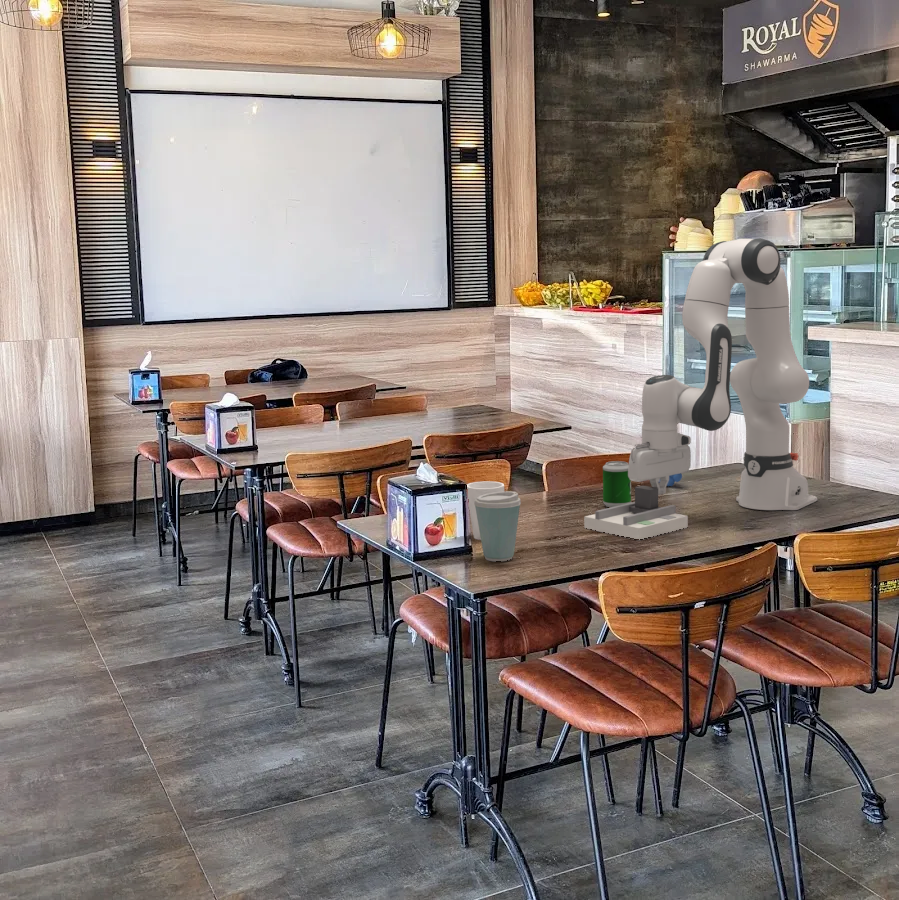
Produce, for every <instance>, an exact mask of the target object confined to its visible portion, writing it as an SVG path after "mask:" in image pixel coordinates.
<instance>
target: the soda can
mask: <svg viewBox="0 0 899 900" xmlns="http://www.w3.org/2000/svg"><path fill="white" fill-rule="evenodd" d="M628 466H629V462H626V461H621V460H620V461H619V460H615V461H608V462H605V464H604V465H603V466H602V489H603V490H602V503H603V504H604V505H605V507H606V508H607V507H610V508H611V507H615V506H619V505H623V504H628V503H632V481H631V480H630V479H629V477H628Z"/></svg>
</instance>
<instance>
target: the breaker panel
mask: <svg viewBox="0 0 899 900" xmlns="http://www.w3.org/2000/svg"><path fill="white" fill-rule="evenodd" d="M631 506H635V501H633V502H632V501H631V503H628V504H623V505H619V506H615V507H611V508H607V507H606V508H602V509H600V510H599V509H598V510H595V512H594V514H589V515H585V516H584V518H583V519H584V522H583V523H584V529H586V528H587V529H586V530H590V529H592V531H595V530H596V531H595V532H600V533H603V532H605V533H604V534H608V533H609V535H612V534H615V535H614V536H617V535H619V536H618V537H621V536H624V537H623V538H626V537H630V538H634V539H639V540H638V541H641V540H640V539H643V540H645V539H644V538H647V539H649V538H648V537H651V538H654V537H658V536H661V535H660V534H662V535H665V534H664V533H666V534H669V533H673V532H676V530H677V531H680V530H679V529H681V530H683V528H684V529H688V528H687V527H688V526H689V525H688V523H689V522H688V521H689V520H688V519H689V517H688V515H686V514H681V513H677V512H676V509H677V506H676V505H674V504H670V505H666V506H662V508H657V509H653V510H649V511H645V512H641V513H634V512H629V507H631ZM672 531H673V532H672ZM668 532H669V533H668ZM657 535H658V536H657ZM653 536H654V537H653ZM630 538H629V539H630ZM634 539H633V540H634Z"/></svg>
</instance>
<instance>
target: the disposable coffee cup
mask: <svg viewBox="0 0 899 900" xmlns="http://www.w3.org/2000/svg"><path fill="white" fill-rule="evenodd" d="M521 504H522V502H521V498H520V497H519V493H518V492H516V491H510V490H509V491H507V490H504V492H495V493H488V494H484V495H480V496H479V497H477V499H476V500H475V502H474V505H475V508H476V514H477V519H478V525H479V531H480V537H481V540H480V541H481V542H480V543H481V548H482V553H483V556H484V559H485V560H486V561H488V562H496V561H501V562H508V561H511V560H512V559H513V558H514V555H515V548H516V542H517V541H516V539H517V532H518V524H519V517H520V516H519V515H520V509H521ZM512 557H513V558H512ZM510 559H511V560H510ZM507 560H508V561H507Z"/></svg>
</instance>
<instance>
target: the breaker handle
mask: <svg viewBox="0 0 899 900" xmlns="http://www.w3.org/2000/svg"><path fill="white" fill-rule="evenodd" d="M634 502H635V506H631V507H629V512H634V513H641V512H645V511H649V510H653V509H657V508H662V507H663V506H662V507H661V506H659V495H658V488H654V487H652V486H648V485H639V486H635V487H634Z"/></svg>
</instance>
